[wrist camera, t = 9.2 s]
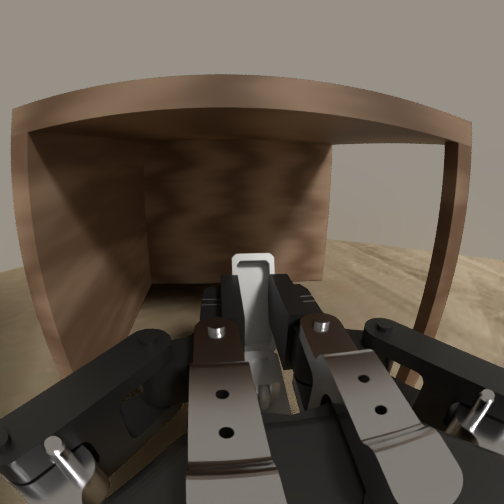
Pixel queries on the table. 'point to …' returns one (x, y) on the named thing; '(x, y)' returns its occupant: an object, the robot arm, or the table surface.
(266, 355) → the lighter
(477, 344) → the table surface
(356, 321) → the table surface
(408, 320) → the table surface
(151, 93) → the open side box
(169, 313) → the table surface
